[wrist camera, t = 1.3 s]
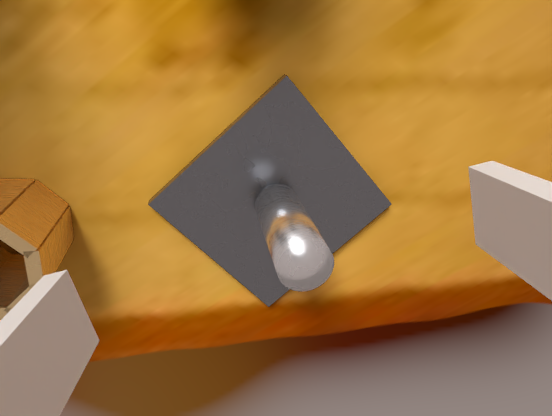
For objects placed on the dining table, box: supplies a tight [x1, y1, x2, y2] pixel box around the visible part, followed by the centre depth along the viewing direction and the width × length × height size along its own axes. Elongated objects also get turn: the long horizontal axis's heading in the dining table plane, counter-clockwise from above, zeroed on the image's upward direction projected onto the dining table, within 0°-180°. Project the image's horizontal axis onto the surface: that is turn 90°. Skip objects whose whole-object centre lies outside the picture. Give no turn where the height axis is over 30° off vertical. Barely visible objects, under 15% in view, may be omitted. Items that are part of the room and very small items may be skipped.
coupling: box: [0, 179, 74, 320], centre depth 32 cm, size 8×8×8 cm
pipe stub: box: [148, 74, 391, 307], centre depth 34 cm, size 16×16×12 cm
